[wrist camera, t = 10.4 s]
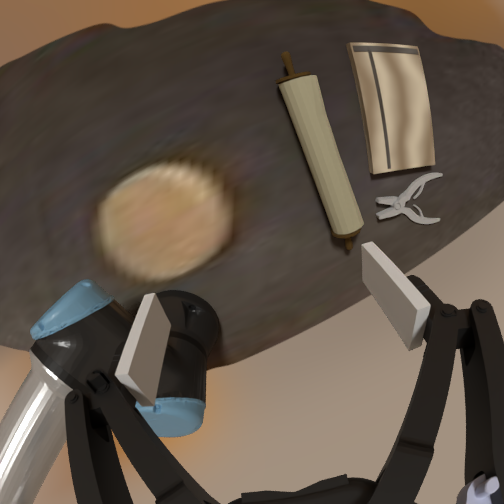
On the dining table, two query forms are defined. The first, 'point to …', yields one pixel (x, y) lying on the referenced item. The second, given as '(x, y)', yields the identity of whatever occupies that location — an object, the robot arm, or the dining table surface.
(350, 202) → the rolling pin
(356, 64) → the marking board
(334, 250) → the dining table surface
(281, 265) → the dining table surface
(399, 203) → the pliers
